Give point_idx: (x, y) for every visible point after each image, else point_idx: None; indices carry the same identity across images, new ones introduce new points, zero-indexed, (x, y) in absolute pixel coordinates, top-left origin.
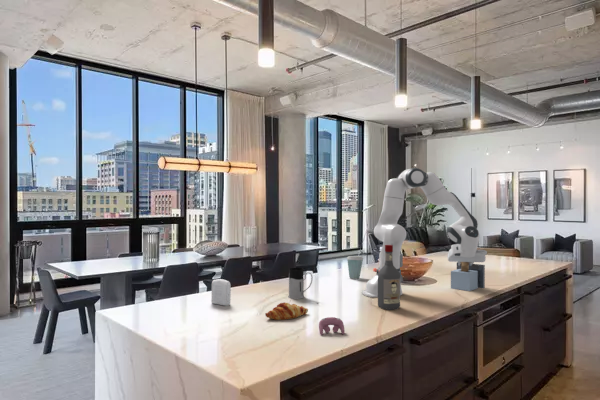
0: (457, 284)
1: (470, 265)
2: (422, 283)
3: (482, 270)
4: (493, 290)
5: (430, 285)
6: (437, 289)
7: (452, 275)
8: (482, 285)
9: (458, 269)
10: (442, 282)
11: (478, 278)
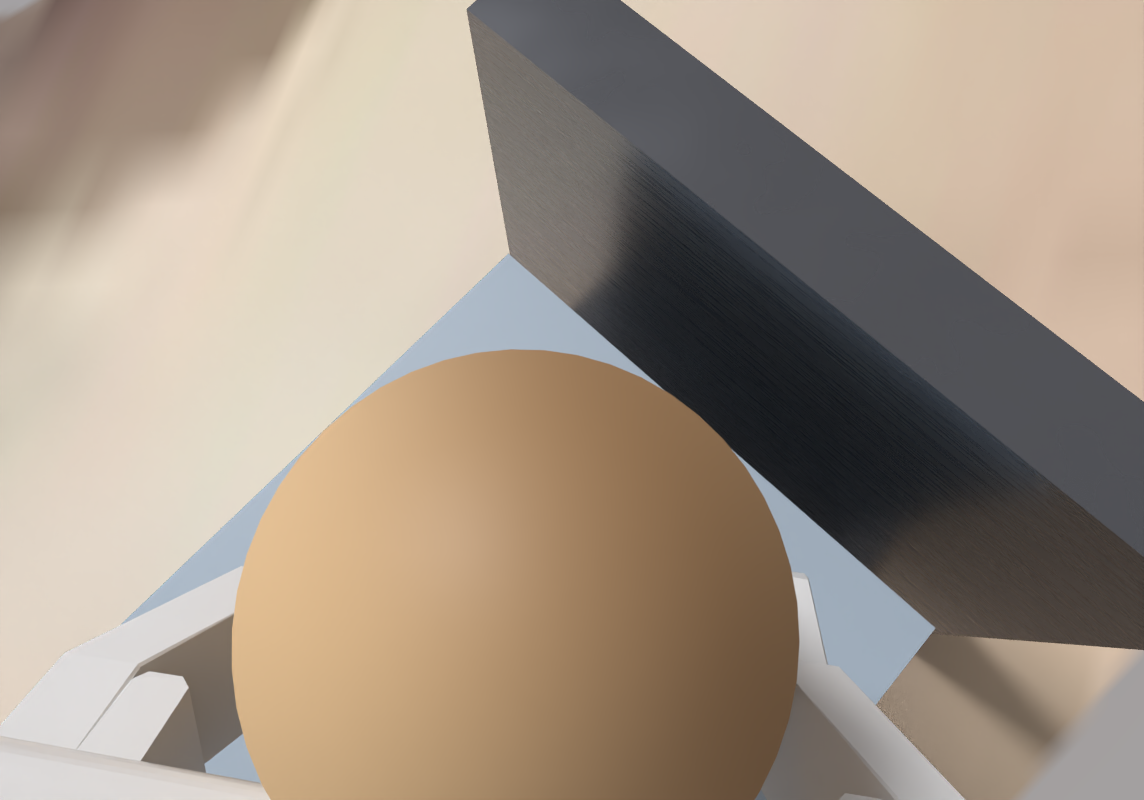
0: None
1: None
2: (18, 149)
3: (1096, 631)
4: (1045, 708)
5: (78, 303)
6: (45, 649)
7: None
8: None
9: (446, 356)
10: (381, 65)
11: (885, 555)
